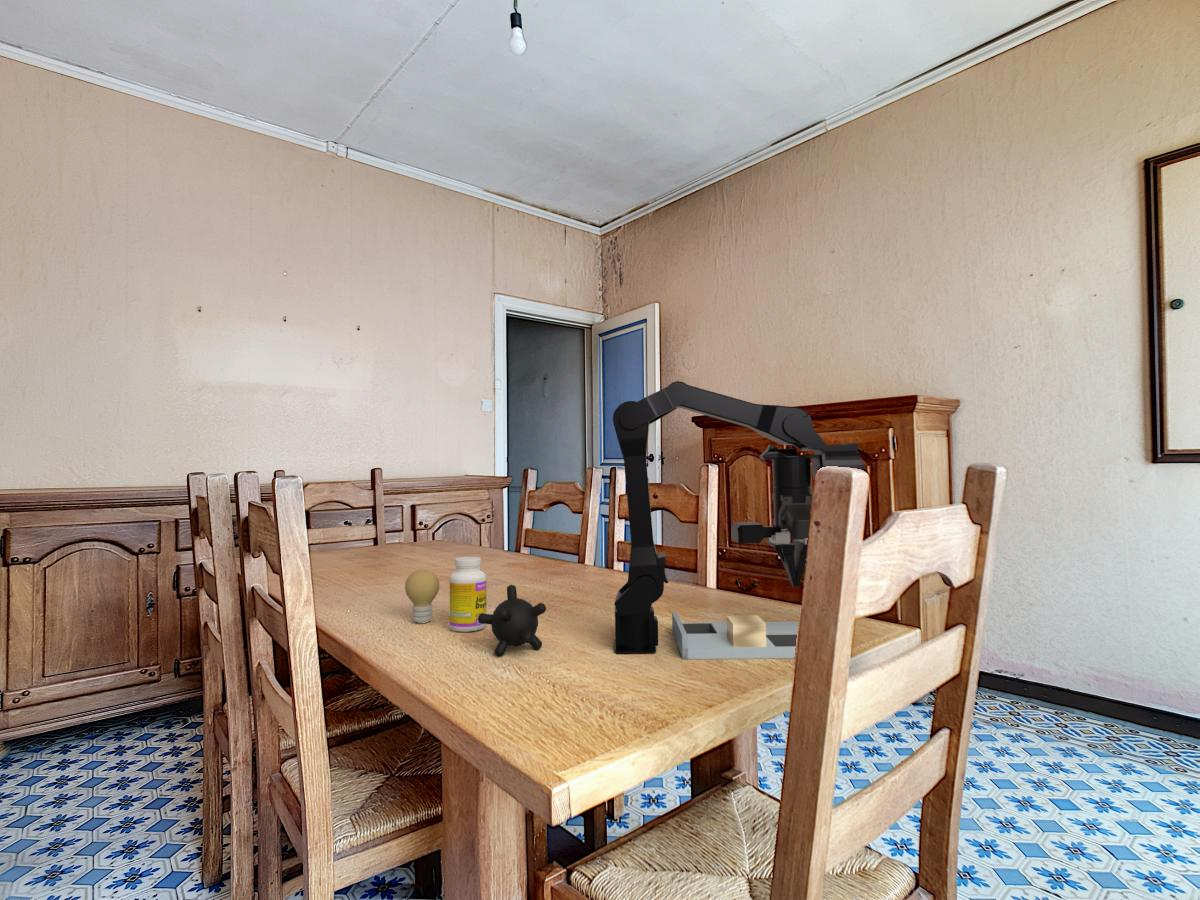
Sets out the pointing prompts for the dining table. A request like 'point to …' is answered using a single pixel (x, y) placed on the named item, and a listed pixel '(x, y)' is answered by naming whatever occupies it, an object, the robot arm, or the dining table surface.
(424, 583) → the light bulb
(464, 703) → the dining table surface
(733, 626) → the block
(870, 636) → the dining table surface
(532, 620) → the toy ball
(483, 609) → the supplement bottle
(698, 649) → the board
